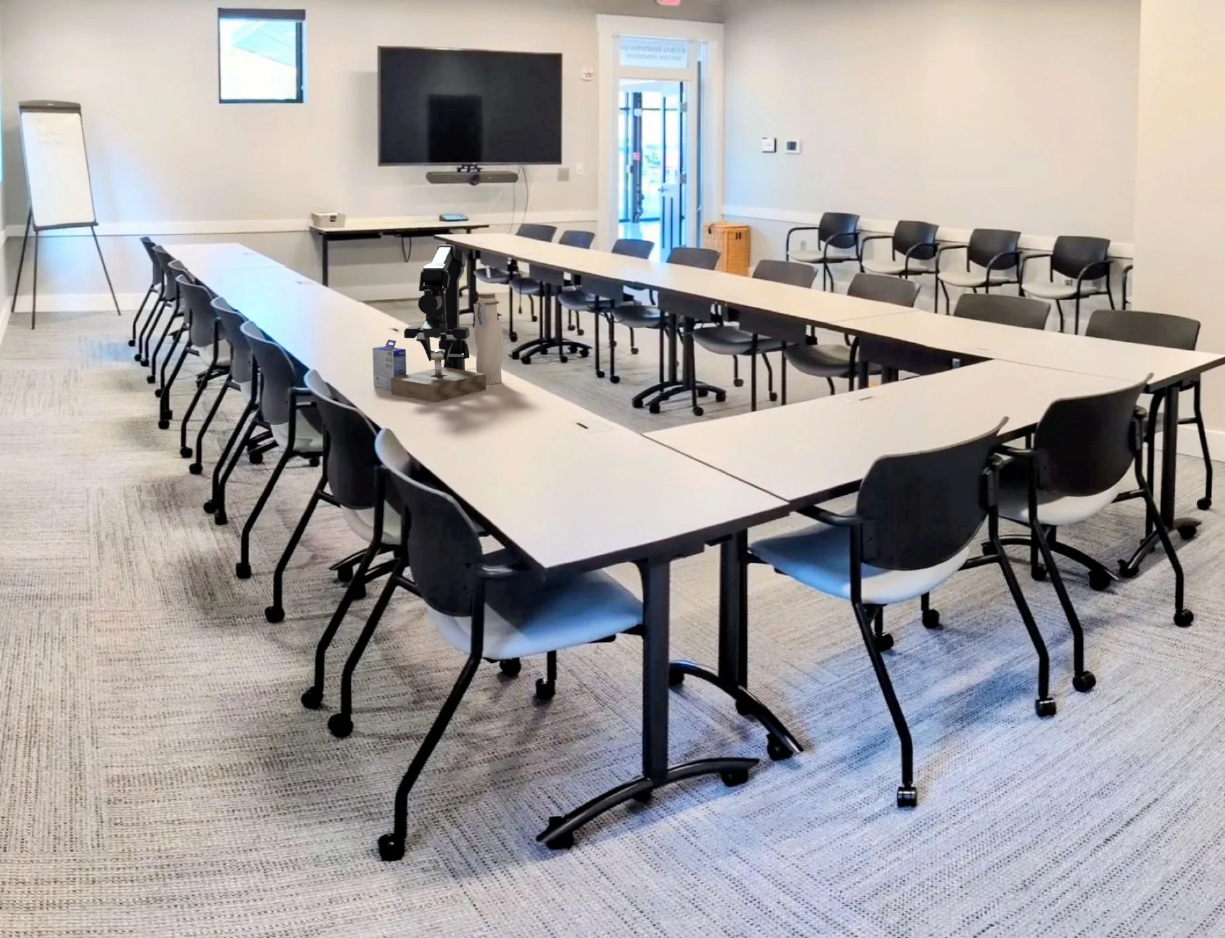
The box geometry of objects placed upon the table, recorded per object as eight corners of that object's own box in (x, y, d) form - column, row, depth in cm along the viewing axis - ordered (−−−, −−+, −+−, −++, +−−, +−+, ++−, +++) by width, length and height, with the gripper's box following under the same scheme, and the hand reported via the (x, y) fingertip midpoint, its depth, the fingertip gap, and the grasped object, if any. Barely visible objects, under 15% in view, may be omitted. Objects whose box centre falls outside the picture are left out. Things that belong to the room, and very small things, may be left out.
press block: (443, 382, 356) (443, 367, 355) (486, 389, 346) (485, 373, 344) (391, 394, 339) (390, 377, 338) (434, 402, 329) (433, 385, 327)
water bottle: (498, 386, 351) (495, 295, 343) (470, 385, 353) (467, 295, 345) (507, 379, 361) (505, 291, 353) (480, 378, 362) (478, 290, 355)
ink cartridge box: (408, 387, 348) (406, 341, 344) (395, 390, 344) (392, 343, 340) (386, 383, 354) (384, 337, 350) (373, 386, 350) (370, 340, 346)
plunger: (438, 377, 344) (437, 348, 342) (449, 379, 342) (448, 350, 339) (428, 379, 341) (427, 350, 338) (438, 381, 338) (437, 352, 336)
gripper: (398, 312, 328) (400, 365, 333) (461, 313, 327) (463, 366, 331) (407, 307, 339) (409, 358, 343) (469, 308, 338) (470, 359, 342)
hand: (438, 361), depth 340 cm, fingers closed on plunger, 4 cm apart
